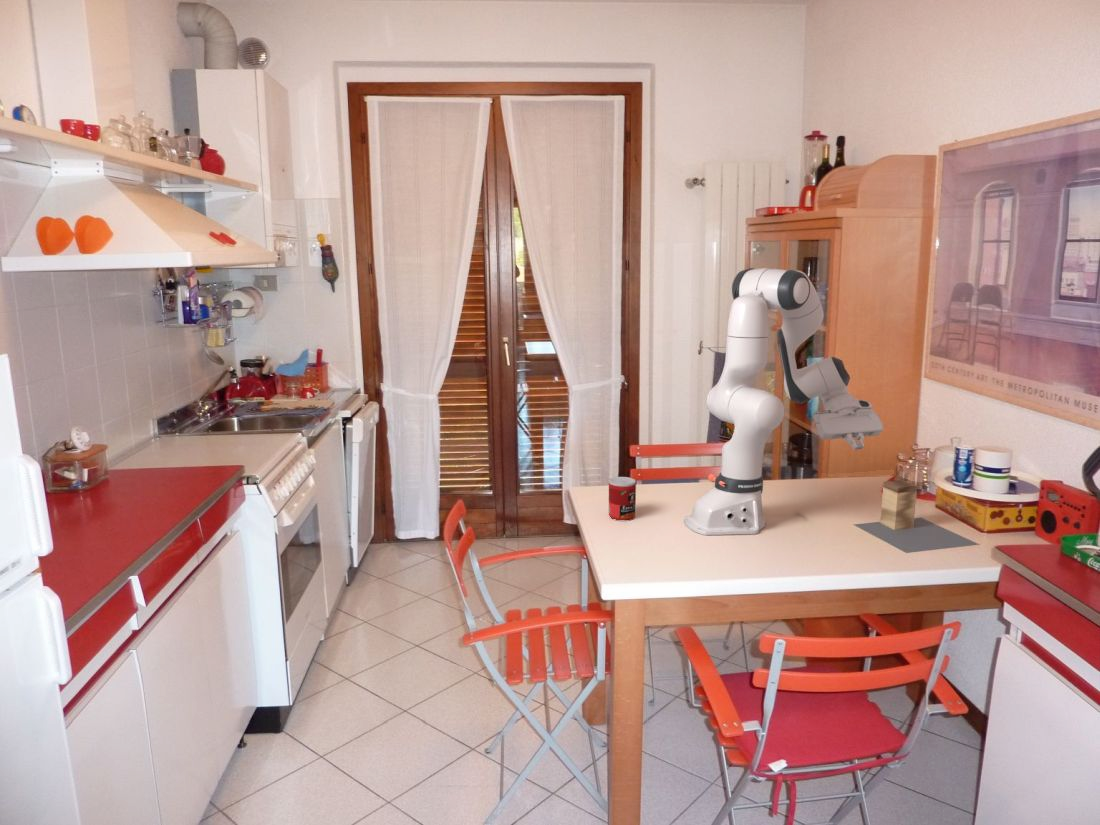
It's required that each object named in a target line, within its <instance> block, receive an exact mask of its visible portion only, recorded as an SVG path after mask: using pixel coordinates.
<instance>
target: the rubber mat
mask: <svg viewBox="0 0 1100 825" xmlns="http://www.w3.org/2000/svg"><path fill="white" fill-rule="evenodd" d="M880 522H881V521H874V522H865V523H856V524H852V525H853V526H855V527H857V528H859V529H861V530H862V531H865V532H867V533H868V534H870V535H872V536H873V537H875V538H878V539H879V540H881V541H883V542H885V543H887V544H889V545H890V546H892V547H894V548H896V549H898V550H900V551H902V552H904V553H906V554H909V553H910V554H911V553H918V552H926V551H935V550H944V549H945V550H946V549H952V548H954V549H955V548H963V547H969V546H977V545H979V546H980V543H977V542H975V541H973V540H971V539H968V538H967V537H964V536H962V535H960V534H958V533H955V532H953V531H952V530H949V529H947V528H945V527H942V526H940V525H938V524H936V523H934V522H931V521H929V520H927V519H925V518H922V517H914V528H910V529H901V530H893V529H891V528H889V527H887V526H885V525H883V524H881V523H880Z"/></svg>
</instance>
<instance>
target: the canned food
mask: <svg viewBox="0 0 1100 825" xmlns="http://www.w3.org/2000/svg"><path fill="white" fill-rule="evenodd" d="M636 482H637V481H636V479H634V478H631V477H629V476H628V477H627V476H615V477H614V476H613V477H611V478H610V479H609V480H608V516H610V517H611V518H612V520H613V519H616V520H615V521H617V520H629V521H631V520H630V519H632V520H634V519H635V516H636V506H637V505H636V499H637V498H636V496H637V494H636V493H637V483H636ZM610 517H609V518H610ZM611 518H610V519H611ZM633 518H634V519H633Z"/></svg>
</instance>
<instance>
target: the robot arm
mask: <svg viewBox="0 0 1100 825" xmlns="http://www.w3.org/2000/svg"><path fill="white" fill-rule="evenodd" d="M731 294H732V295H731V296H732V298H733V301H732V303H731V306H730V309H729V315H728V321H727V330H726V342H725V343H726V346H725V358H724V359H725V360H724V364H723V365H724V366H723V368H722V369H723V370H722V372H721V375H720V377H719V380H717V381H718V382H717V383H716V384H715V385H714V386H713V387H711V389H710V390H709V392H708V393H707V397H706V407H707V409H708V411H709V413H710V414H711V415H713V416H715V417H716V419H718V420H720V421H722V422H726V423H729V424H732V425H734V430H733V434H732V436H731V438H730V439H729V440H728V441H726V442H725V443H724V444H723V446H722V448H721V463H720V464H721V467H720V473H719V474H718V476H717V475H715V474H714V473H710V474H709V475H708V477H707V479H708V480H709V481H710V482H711V483H714V486H713V487H712V488H711V489H710V490H708V491H707V492H705V493H704V494H702V496H700V497H699V498H697V500H695V502H694V504H693V508H692V513H691V515H686V516H684V519H683V523H684V525H685V526H686V527H687V528H688V529H690V530H691V531H693V532H695V533H698V534H701V535H703V536H716V535H717V536H718V535H719V536H722V535H726V536H727V535H728V536H729V535H749V534H750V535H756V534H758V533H759V532H760V530H761V529H763V528H764V527H766V521H765V517H764V513H763V512H764V511H763V503H762V502H763V501H762V495H763V494H762V493H763V490H764V476H763V474H762V473H763V460H764V450H765V446H766V443H767V440H768V439H769V436H770V434H771V433H772V432H773V431H775V430H776V429H777V428H778V427H779V426H780V425H781V423H782V422H783V420H784V417H785V406H784V403H783V401H782V400H781V398H779V397H778V396H776V395H774V394H772V393H770V392H769V391H767V390H764V389H761V388H760V389H759V388H756V387H755V386H754V384H755V382H756V378H757V376H758V374H759V373H760V372H761V371H763V370H764V369H765V368H767V366H768V358H769V344H770V343H769V342H770V318H769V316H770V315H769V314H770V312H771V311H780V314H781V318H782V324H781V327H780V328H779V329H778V331H777V334H776V337H777V339H776V340H777V346H778V352H779V357H780V363H781V369H782V376H783V387H784V391H785V394H786V396H787V398H789V400H790V401H791V402H794V403H797V404H800V405H801V404H805V403H806V402H809V401H811V400H812V399H814V398H816V397H819V398H820V399H821V401H822V406H823V408H824V410H815V412H814V413H813V414H812V418H813V420H814V422H815V427H816V430H817V434H818V437H819V438H820V439H821V440H823V441H824V440H827V441H828V440H837V439H844V441H845V442H846V443H847V444H848V445H850V446H851V448H852V450H854V451H855V450H863V449H864V448H865V444H864V438H865V437H876V436H879V435H880V434H881V433H882V432H883V430H884V425H883V422H882V421H881V419H880V417H879V415H878V414H877V412H876V410H874V409H872V408H873V405H872V403H871V402H870V401H868V400H863V399H859V398H857V397H853V396H852V394H851V392H849V390H848V385H849V383H850V380H851V377H850V374H849V373H848V371H847V370H846V368H845V364H844V362H843V360H841V359H840V358H838V357H835V356H831V357H825V358H824V359H823V358H822V360H818V361H816V362H814V363H812V364H809V365H807V366H805V367H801V368H798V367H797V362H796V357H795V353H796V351H797V349H798V348H799V347H800V346H801V345H802V344H803V343H804V342H805V341H806V340H808V339H809V338H810V337H812V336H813V335H815V333H816V332H817V331H818V330H819V328H820V327H821V326H822V323H823V321H824V309H823V306H822V302H821V300H820V299H821V298H820V297H819V295H818V292H817V291H816V288H815V286H814V284H813V283H812V281H811V280H810V278H809V277H808V275H807V274H806V273H805V272H803V271H801V270H797V269H796V270H794V269H788V270H787V269H780V268H779V269H778V268H773V267H764V268H763V267H762V268H761V267H760V268H747V269H743V270H741V271H739V272H738V273H737V274H736V276H735V277H734V279H733V281H732V285H731ZM754 387H755V388H754ZM854 438H855V439H854ZM855 440H856V441H855Z"/></svg>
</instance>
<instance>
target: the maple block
mask: <svg viewBox="0 0 1100 825" xmlns="http://www.w3.org/2000/svg"><path fill="white" fill-rule="evenodd" d="M882 485H883V486H882V497H881V510H880V512H881V513H880V521H879V522H880V523H881V524H883V525H885V526H887V527H889V528H891V529H893V530H901V529H910V528H914V518H915V516H916V515H915V514H916V503H917V492H918V485H915V484H913V483H911V482H908V481H906V480H903V479H899V480H889V481H883V484H882Z"/></svg>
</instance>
